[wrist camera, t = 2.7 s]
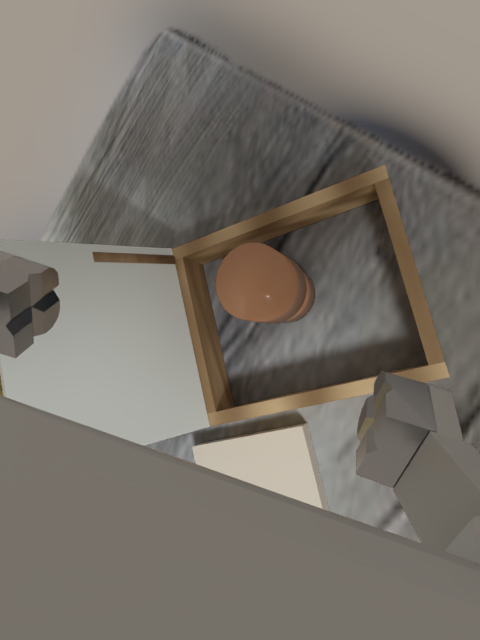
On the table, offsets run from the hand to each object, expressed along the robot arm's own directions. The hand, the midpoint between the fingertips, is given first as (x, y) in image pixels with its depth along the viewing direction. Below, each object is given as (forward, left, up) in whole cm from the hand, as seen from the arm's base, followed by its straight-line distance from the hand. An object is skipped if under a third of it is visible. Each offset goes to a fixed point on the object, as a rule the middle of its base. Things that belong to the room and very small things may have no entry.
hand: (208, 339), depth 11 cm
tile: (+11, +10, -25) cm, 29 cm away
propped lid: (+16, -4, -22) cm, 27 cm away
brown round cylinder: (+5, -6, -25) cm, 26 cm away
